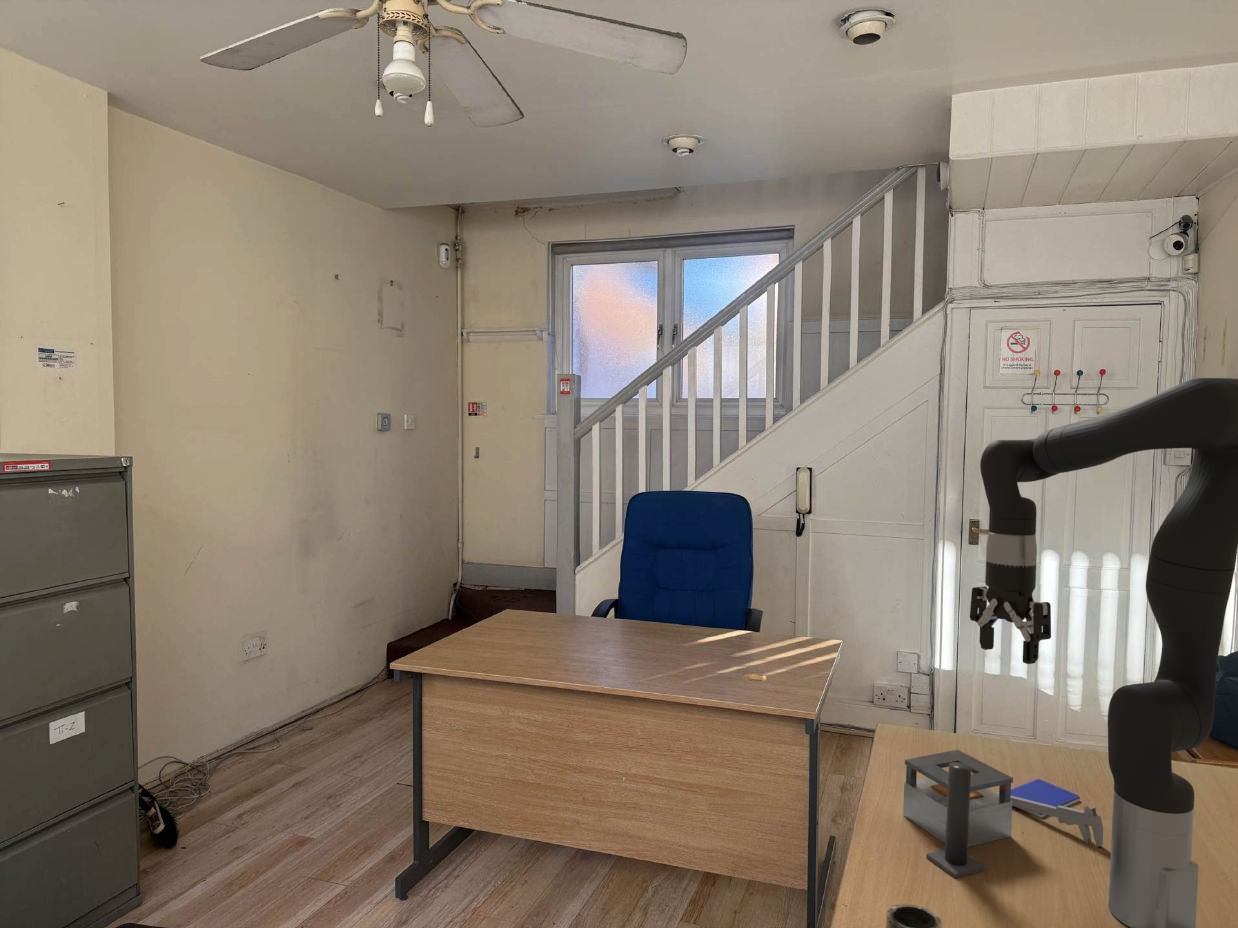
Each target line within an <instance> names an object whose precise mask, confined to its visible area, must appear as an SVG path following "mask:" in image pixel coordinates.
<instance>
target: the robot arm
mask: <svg viewBox="0 0 1238 928" xmlns="http://www.w3.org/2000/svg"><path fill="white" fill-rule="evenodd" d="M1164 449H1165V450H1166V449H1192V450H1194V452H1193V459H1192V465H1191V469H1190V470H1191V471H1190V474H1189V477H1188V480H1187V482H1186V485H1185V486H1184V489H1183V491H1182V492H1181V494H1180V496H1179V497H1178V499H1177V501H1176V502H1175V504H1173V507H1172V508H1171V509H1170V511H1169V512H1168V514H1167V515H1166V517H1165V518H1164V520H1163V522H1161V525H1159V526H1160V527H1159V528H1158V530H1157V532H1156V533H1155V536H1154V538H1153V541H1152V545H1151V549H1150V552H1149V553H1150V554H1149V559H1148V566H1147V571H1146V578H1145V593H1146V598H1147V601H1148V603H1149V606H1150V609H1151V612H1152V615H1153V616H1154V619H1155V621H1156V623H1157V624H1156V625H1157V627H1158V629H1159V632H1160V637H1161V653H1160V654H1161V655H1160V659H1159V665H1158V671H1157V673H1156V676H1155V678H1154V681H1151V682H1142V683H1141V682H1139V683H1132V684H1126V685H1123V686H1120V687H1119V688H1118V689H1116V690H1115V692H1113V694H1112V696H1111V698H1110V701H1109V704H1108V711H1107V754H1108V755H1107V756H1108V757H1107V758H1108V766H1109V769H1110V772H1111V774H1112V778H1113V799H1112V800H1113V801H1112V818H1111V820H1112V822H1111V844H1110V861H1109V862H1110V865H1109V886H1108V887H1109V889H1108V893H1109V894H1108V909H1109V912H1110V913H1111V914H1112V915H1113V916H1114V917H1115V918H1116V919H1117V920H1118V921H1119V922H1121V923H1123V924H1124V925H1126V926H1128V927H1129V928H1196V924H1197V905H1198V904H1197V903H1198V886H1199V882H1198V881H1199V870H1200V869H1199V865H1198V863H1197V862H1195V861H1193V860H1192V854H1193V852H1192V850H1193V830H1194V829H1193V828H1194V809H1195V789H1194V786H1193V785H1192V784H1191V783H1190V781H1188V780H1187V779H1185V778H1184V777H1183V776H1181V775H1178V774H1177V773H1175V772H1173V770H1172V769H1173V768H1172V767H1173V765H1172V753H1175V752H1180V751H1181V752H1182V751H1186V750H1191V749H1195V748H1198V747H1199V746H1201V745H1202V744H1204V743H1205V742H1206V741H1207V739H1208V738H1209V736H1210V735H1211V732H1212V729H1213V724H1214V720H1215V719H1214V717H1215V705H1216V704H1215V703H1216V702H1215V701H1216V686H1217V685H1216V684H1217V670H1218V669H1217V667H1218V659H1219V652H1220V648H1221V647H1220V646H1221V640H1222V635H1223V629H1224V623H1225V617H1226V611H1227V606H1228V603H1229V598H1230V595H1231V589H1232V584H1233V579H1234V574H1235V569H1236V564H1237V557H1238V556H1237V554H1238V378H1231V377H1229V378H1226V377H1225V378H1224V377H1223V378H1222V377H1219V378H1218V377H1200V378H1194V379H1189V380H1185V382H1181V383H1179V384H1177V385H1175V386H1172V387H1169V388H1168V389H1166V390H1164V391H1161V392H1160V393H1157V394H1155V395H1153V396H1150V397H1148V398H1146V399H1145V400H1143V401H1140V402H1138V403H1135V404H1133V405H1131V406H1128V407H1125V408H1123V409H1119V410H1117V411H1115V412H1111V413H1107V414H1105V415H1100V416H1097V417H1093V418H1089V419H1086V420H1081V421H1077V422H1072V423H1069V424H1066V425H1061V426H1059V427H1058V426H1057V427H1055V428H1051V429H1048V430H1046V431H1043V432H1042V433H1040V434H1039V435H1038V436H1037V437H1035V438H1030V439H998V440H994V441H992V442H990V443H989V444H987V445H986V447H985V448H984V450H983V452H982V454H981V456H980V457H981V458H980V463H979V464H980V465H979V466H980V474H981V479H982V482H983V483H982V484H983V487H984V492H985V496H986V499H987V502H988V507H989V512H988V513H989V514H988V516H989V517H988V533H987V534H988V535H987V540H986V551H985V578H984V579H985V581H984V583H985V585H986V586H985V585H984V586H976V587H972V589H971V598H970V608H969V610H970V611H969V620H970V621H971V622H975V623H977V625H978V626H979V645H980V648H981V649H982V650H985V651H987V650H989V651H990V650H993V649H994V645H995V627H993V626H994V625H995V623H996V622H997V621H998V620H1005V621H1007V622H1009V623H1013V625H1014V626H1015V628H1016V629H1018V630H1019V631H1020V633H1021V635H1022V637H1023V639H1024V640H1023V641H1022V642H1023V643H1022V662H1023V663H1024V664H1025V665H1026V664H1027V665H1031V664H1036V662H1037V661H1038V659H1039V651H1040V649H1039V645H1040V642H1041V641H1044V640H1045V641H1046V640H1051V638H1052V609H1051V608H1052V607H1051V606H1052V605H1051V603H1050V602H1049V601H1042V602H1040V601H1035V600H1034V597H1033V592H1034V590H1035V589H1036V585H1037V584H1036V583H1037V560H1038V558H1037V555H1038V547H1037V546H1038V545H1037V535H1036V534H1037V504H1036V503H1035V501H1034V500H1032V499H1030V498H1028V497H1024V496H1021V495H1022V494H1021V492H1020V488H1019V484H1018V483H1031V482H1037V481H1042V480H1045V479H1048V478H1051V477H1054V476H1056V475H1059V474H1065V473H1070V472H1074V471H1079V470H1083V469H1084V470H1085V469H1089V468H1093V467H1096V466H1100V465H1103V464H1106V463H1109V462H1112V461H1114V460H1116V459H1118V458H1121V457H1123V456H1125V455H1129V454H1133V453H1137V452H1143V451H1151V450H1164ZM987 603H988V604H987ZM1024 620H1025V621H1024Z"/></svg>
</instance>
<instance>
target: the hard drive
mask: <svg viewBox="0 0 1238 928" xmlns="http://www.w3.org/2000/svg"><path fill="white" fill-rule="evenodd" d="M1011 796H1015V797H1019V798H1023V799H1027V800H1031V801H1035V802H1039V803H1043V804H1047V805H1051V806H1055V807H1057V806H1059V805H1060V806H1065V807H1069V806H1071V805H1073V804H1076V803H1078V802H1080V800H1081V799H1080V798H1081V797H1080V795H1078V794H1076V793H1074V792H1072V791H1068V790H1066V789H1065V788H1062V787H1060V786H1057V785H1054V784H1051V783H1050V782H1048V781H1046V780H1042V779H1041V778H1040V779H1039V778H1036V779H1034V780H1031V781H1029V782H1026V783H1023V784H1021V785H1018V786H1015V787H1013V788H1011ZM1016 808H1018V807H1016ZM1018 809H1020V810H1021V811H1025V812H1026V813H1029V814H1031V815H1033V816H1036V817H1037V818H1040V819H1041V818H1044V817H1046V816H1047V815H1045V814H1041V813H1038V812H1034V811H1030V810H1026V809H1022V808H1018Z"/></svg>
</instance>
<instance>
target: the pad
mask: <svg viewBox="0 0 1238 928" xmlns="http://www.w3.org/2000/svg"><path fill="white" fill-rule="evenodd" d="M925 856H926V859H927V860H929V861H931V863H933V864H935V865H936V866H938V867H939V868H940V869H941V870H943V871H945V872H946V873H947V874H949V875H950V876H952V878H954V879H957V878H961V877H965V876H969V875H971V874H976V873H979V872H984V871H986V866H985V865H984V864H982V863H981V862H979V861H978V860H976V859H975V858H973V857H972V856H970V855H969V854H967V864H966V865H964V866H957V865H953V864H951V863H949V862H947V861H946V860H945V848H944V849H940V850H937V851H933V852H929V853H926V854H925Z"/></svg>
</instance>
